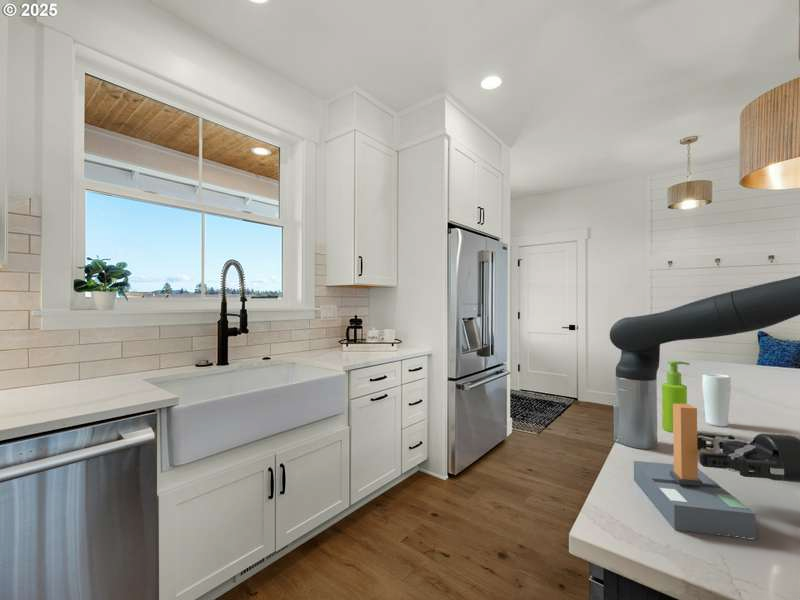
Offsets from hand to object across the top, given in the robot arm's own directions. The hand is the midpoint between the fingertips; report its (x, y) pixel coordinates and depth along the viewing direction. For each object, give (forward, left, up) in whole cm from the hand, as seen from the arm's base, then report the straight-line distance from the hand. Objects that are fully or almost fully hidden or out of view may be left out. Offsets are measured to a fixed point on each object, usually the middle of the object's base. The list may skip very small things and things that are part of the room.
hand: (688, 450), depth 69 cm
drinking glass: (0, +65, -10) cm, 66 cm away
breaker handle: (0, 0, -6) cm, 6 cm away
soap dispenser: (-8, +50, -10) cm, 51 cm away
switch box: (0, 0, -10) cm, 10 cm away
